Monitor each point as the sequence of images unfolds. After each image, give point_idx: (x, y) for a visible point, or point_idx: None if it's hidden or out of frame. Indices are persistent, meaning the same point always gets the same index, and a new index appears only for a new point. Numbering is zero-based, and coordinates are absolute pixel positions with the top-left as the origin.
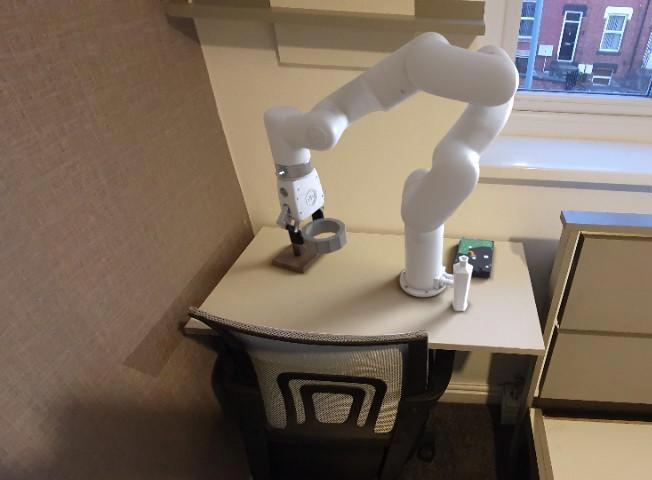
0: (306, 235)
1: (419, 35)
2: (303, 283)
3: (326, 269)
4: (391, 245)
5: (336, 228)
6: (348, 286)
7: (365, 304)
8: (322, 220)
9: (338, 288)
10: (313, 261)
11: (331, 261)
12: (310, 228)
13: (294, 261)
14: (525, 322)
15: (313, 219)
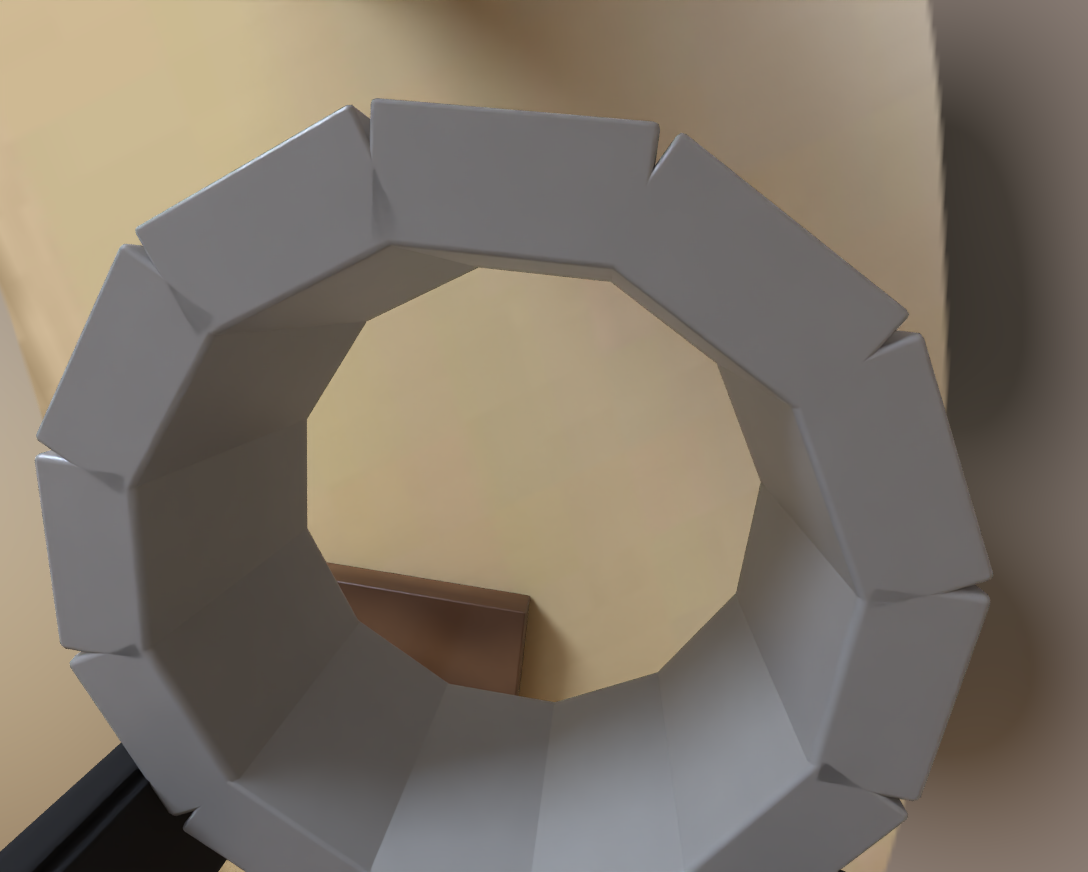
0: (772, 841)
1: None
2: (613, 558)
3: (459, 487)
4: (91, 176)
5: (247, 452)
6: (569, 285)
7: (709, 88)
8: (198, 750)
9: (603, 339)
10: (428, 586)
11: (382, 491)
12: (453, 830)
13: (476, 685)
14: None
15: (207, 868)
